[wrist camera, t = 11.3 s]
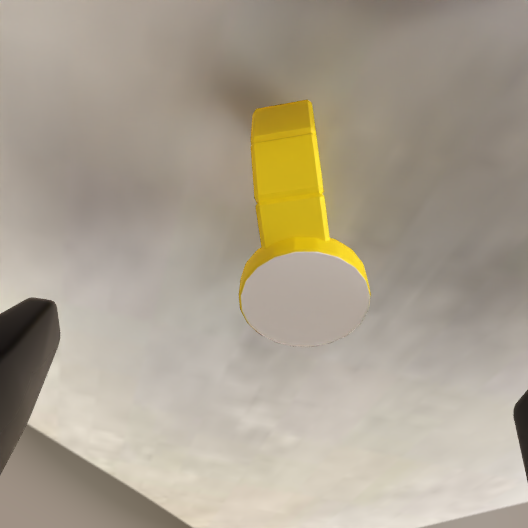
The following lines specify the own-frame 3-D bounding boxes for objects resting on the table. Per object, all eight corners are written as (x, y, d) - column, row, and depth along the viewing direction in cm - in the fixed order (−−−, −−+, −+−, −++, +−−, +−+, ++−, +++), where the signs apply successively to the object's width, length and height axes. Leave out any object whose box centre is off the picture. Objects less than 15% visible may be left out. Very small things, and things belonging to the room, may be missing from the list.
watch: (233, 87, 12) (199, 176, 8) (332, 69, 12) (362, 151, 7) (271, 259, 16) (264, 396, 11) (349, 248, 15) (377, 386, 11)
